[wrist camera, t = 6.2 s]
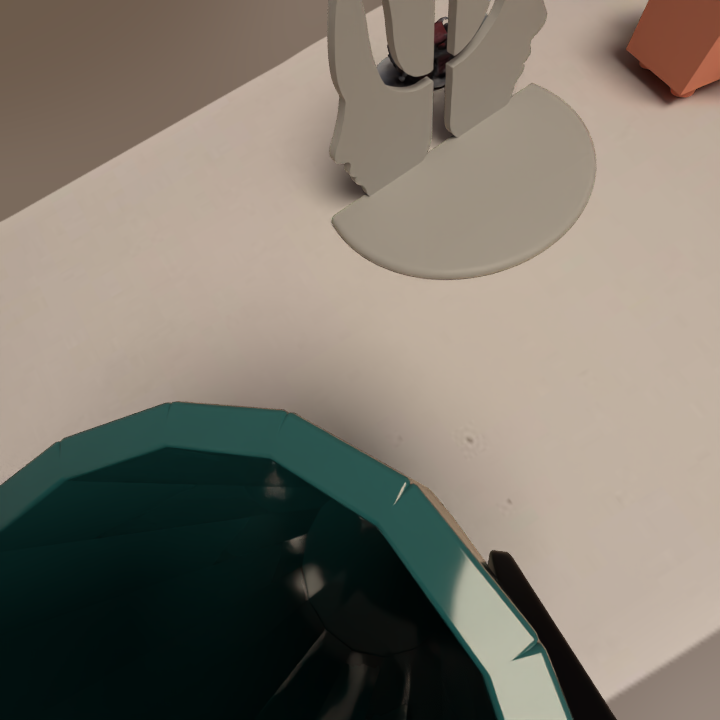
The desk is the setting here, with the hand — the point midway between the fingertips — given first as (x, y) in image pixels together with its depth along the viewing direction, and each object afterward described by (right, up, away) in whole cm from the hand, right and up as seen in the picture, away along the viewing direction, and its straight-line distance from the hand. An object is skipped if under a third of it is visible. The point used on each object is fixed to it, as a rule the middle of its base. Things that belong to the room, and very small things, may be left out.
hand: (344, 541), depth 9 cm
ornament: (+10, +18, +19) cm, 28 cm away
